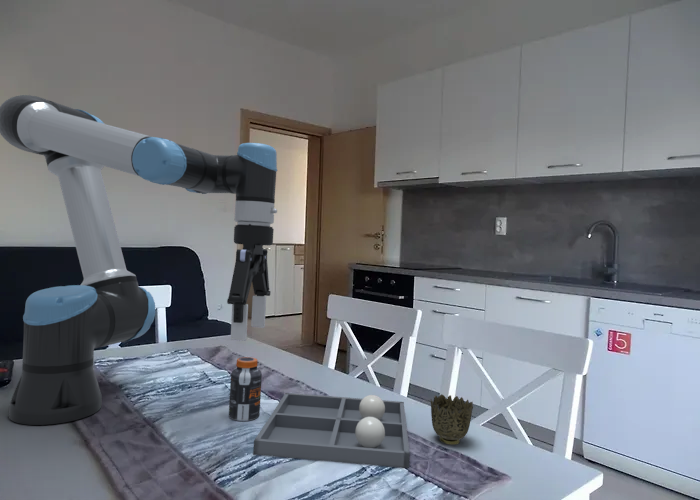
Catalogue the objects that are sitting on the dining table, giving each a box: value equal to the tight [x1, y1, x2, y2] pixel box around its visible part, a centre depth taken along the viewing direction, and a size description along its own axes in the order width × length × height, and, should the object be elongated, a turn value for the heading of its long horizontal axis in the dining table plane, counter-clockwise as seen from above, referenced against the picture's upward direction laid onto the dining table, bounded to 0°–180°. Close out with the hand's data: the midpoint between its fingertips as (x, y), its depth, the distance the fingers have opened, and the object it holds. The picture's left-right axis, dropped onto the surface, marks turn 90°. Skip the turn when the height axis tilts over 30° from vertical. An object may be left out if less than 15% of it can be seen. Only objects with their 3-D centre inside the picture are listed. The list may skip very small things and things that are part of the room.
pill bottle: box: [228, 356, 263, 422], centre depth 95 cm, size 6×6×11 cm
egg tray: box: [252, 392, 411, 469], centre depth 88 cm, size 24×24×3 cm
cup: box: [430, 394, 474, 446], centre depth 86 cm, size 8×7×8 cm
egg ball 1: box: [359, 394, 385, 420], centre depth 93 cm, size 5×5×5 cm
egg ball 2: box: [355, 417, 385, 448], centre depth 81 cm, size 5×5×5 cm
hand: (248, 333), depth 95 cm, fingers open, 13 cm apart
